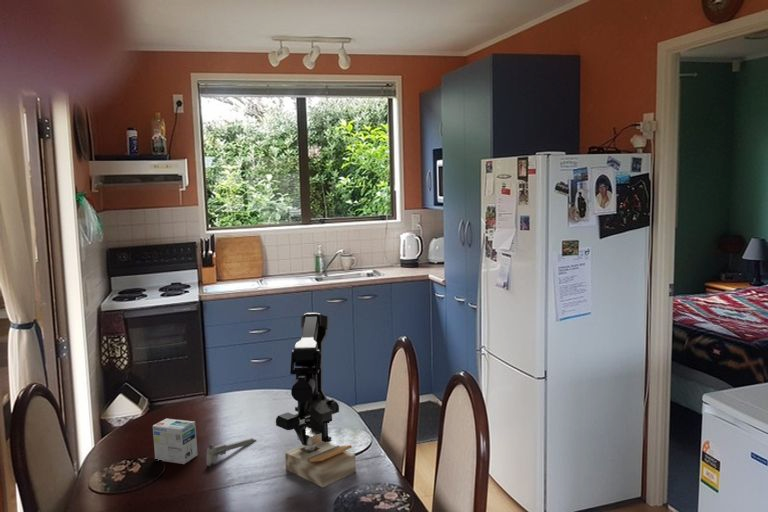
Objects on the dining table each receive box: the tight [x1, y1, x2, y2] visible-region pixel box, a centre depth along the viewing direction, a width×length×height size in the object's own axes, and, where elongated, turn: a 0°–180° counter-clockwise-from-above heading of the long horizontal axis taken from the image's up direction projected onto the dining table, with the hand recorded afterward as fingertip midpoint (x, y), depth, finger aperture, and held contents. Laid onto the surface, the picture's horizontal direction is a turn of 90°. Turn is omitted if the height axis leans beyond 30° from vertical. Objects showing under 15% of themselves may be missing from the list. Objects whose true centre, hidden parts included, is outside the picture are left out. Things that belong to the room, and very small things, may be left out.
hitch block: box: [284, 441, 357, 488], centre depth 176 cm, size 16×12×5 cm
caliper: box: [205, 437, 257, 467], centre depth 189 cm, size 20×1×6 cm, turn 151°
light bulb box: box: [152, 418, 199, 465], centre depth 186 cm, size 11×7×11 cm, turn 71°
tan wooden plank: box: [307, 444, 353, 462], centre depth 172 cm, size 6×11×1 cm, turn 136°
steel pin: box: [296, 427, 322, 453], centre depth 178 cm, size 4×6×7 cm, turn 46°
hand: (309, 442), depth 178 cm, fingers closed on steel pin, 4 cm apart
